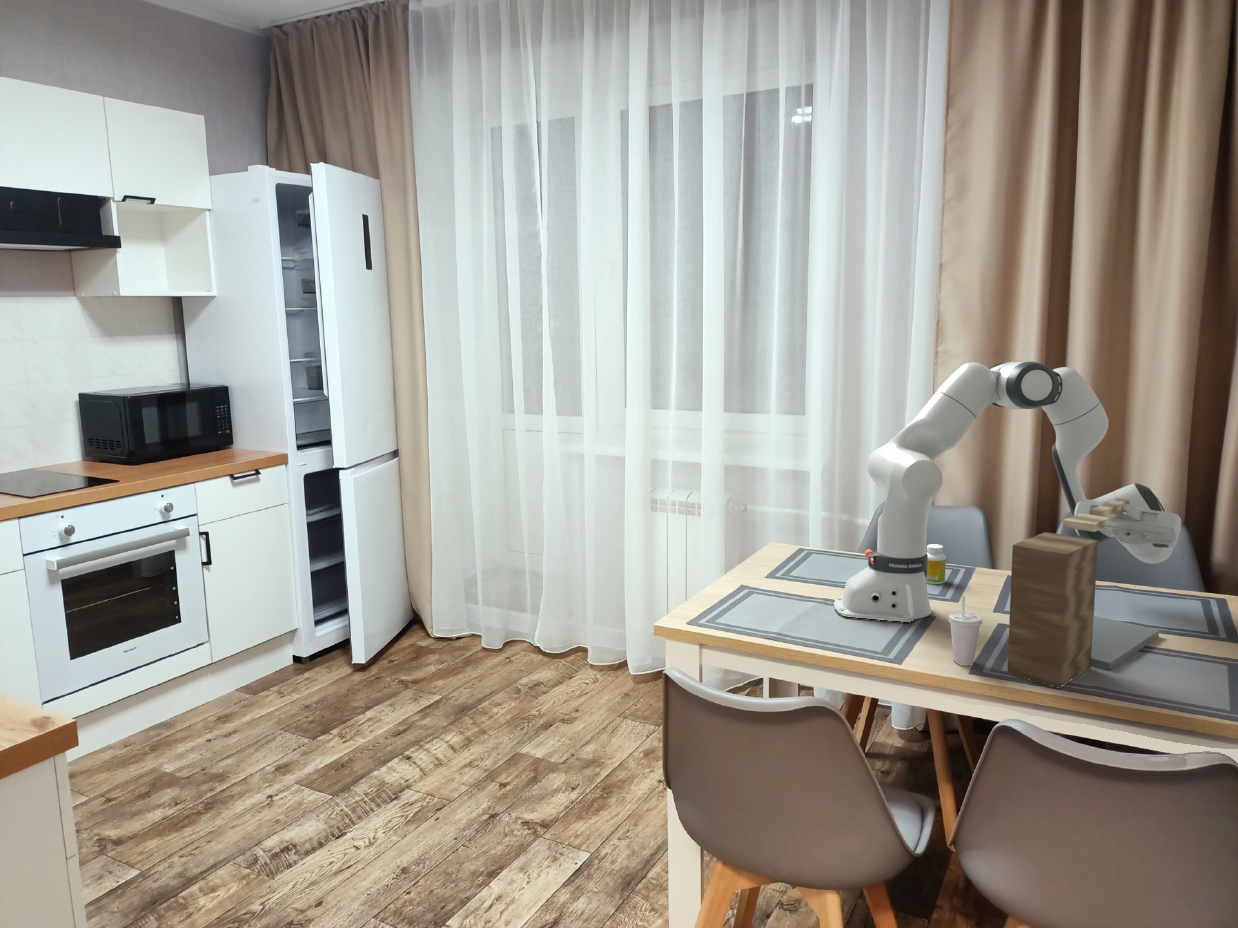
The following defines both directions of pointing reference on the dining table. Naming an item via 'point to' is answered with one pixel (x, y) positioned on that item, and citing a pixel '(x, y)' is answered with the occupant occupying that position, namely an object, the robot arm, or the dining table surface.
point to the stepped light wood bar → (1096, 516)
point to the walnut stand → (1052, 607)
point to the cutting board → (1117, 641)
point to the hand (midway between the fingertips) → (1115, 506)
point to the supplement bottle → (936, 564)
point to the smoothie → (964, 635)
